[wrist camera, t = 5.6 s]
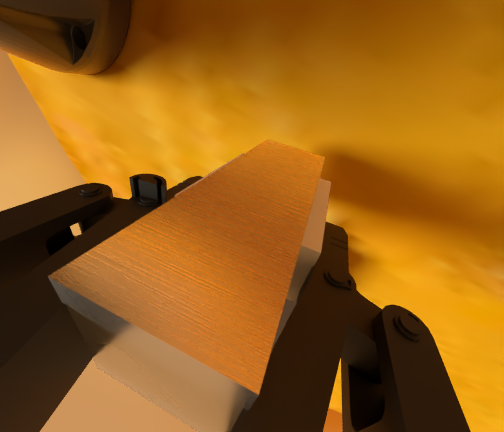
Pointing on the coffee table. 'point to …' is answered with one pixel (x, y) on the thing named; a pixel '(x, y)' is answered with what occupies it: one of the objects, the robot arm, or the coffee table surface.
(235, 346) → the beige tall block
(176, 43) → the coffee table surface
